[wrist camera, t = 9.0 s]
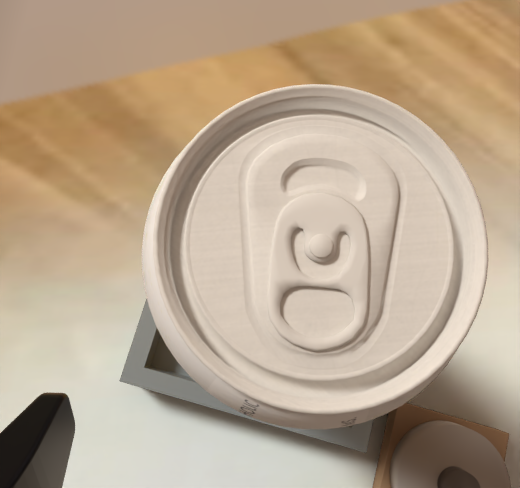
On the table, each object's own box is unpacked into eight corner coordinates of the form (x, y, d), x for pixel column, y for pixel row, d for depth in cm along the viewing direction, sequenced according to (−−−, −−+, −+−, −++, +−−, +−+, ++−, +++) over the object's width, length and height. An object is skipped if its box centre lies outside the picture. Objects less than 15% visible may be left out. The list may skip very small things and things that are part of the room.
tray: (355, 442, 22) (366, 453, 20) (130, 377, 22) (119, 381, 20) (405, 223, 24) (419, 212, 22) (199, 165, 24) (195, 150, 22)
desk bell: (477, 545, 21) (514, 578, 18) (366, 513, 21) (386, 541, 18) (497, 429, 22) (536, 443, 19) (391, 398, 22) (414, 408, 19)
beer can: (339, 244, 23) (508, 77, 8) (333, 377, 22) (520, 458, 7) (211, 234, 23) (150, 47, 8) (198, 367, 22) (101, 429, 7)
